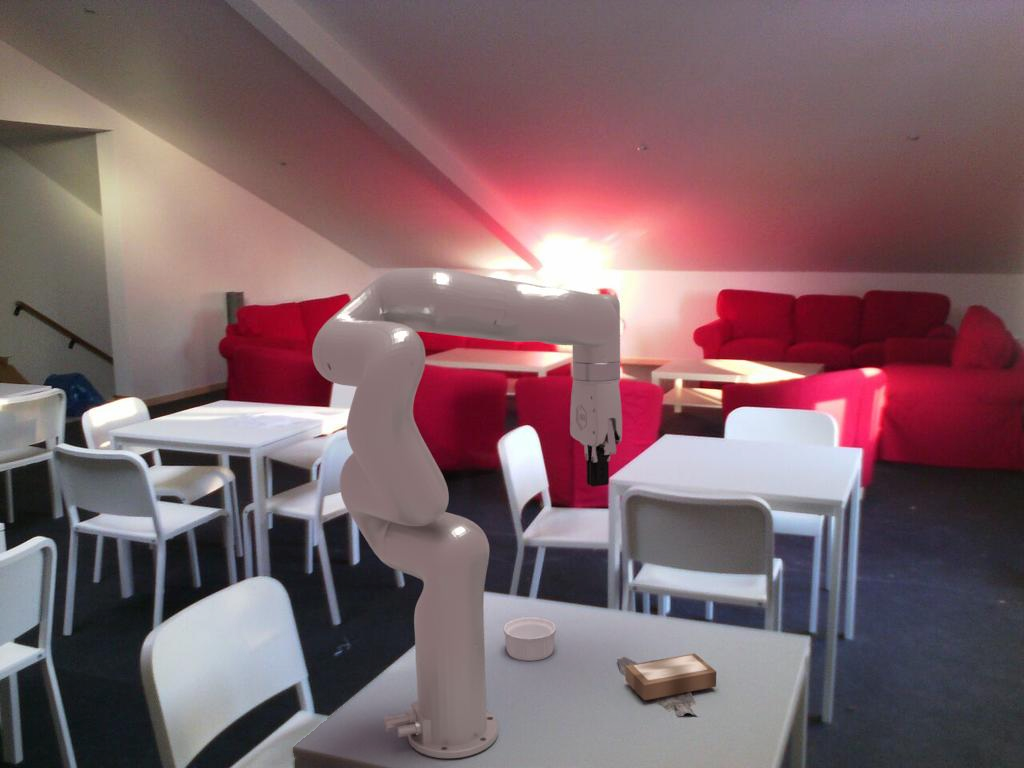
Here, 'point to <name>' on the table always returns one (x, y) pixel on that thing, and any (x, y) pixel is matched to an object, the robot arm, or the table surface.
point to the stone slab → (676, 702)
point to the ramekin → (530, 638)
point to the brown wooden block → (670, 676)
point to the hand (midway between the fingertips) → (597, 484)
